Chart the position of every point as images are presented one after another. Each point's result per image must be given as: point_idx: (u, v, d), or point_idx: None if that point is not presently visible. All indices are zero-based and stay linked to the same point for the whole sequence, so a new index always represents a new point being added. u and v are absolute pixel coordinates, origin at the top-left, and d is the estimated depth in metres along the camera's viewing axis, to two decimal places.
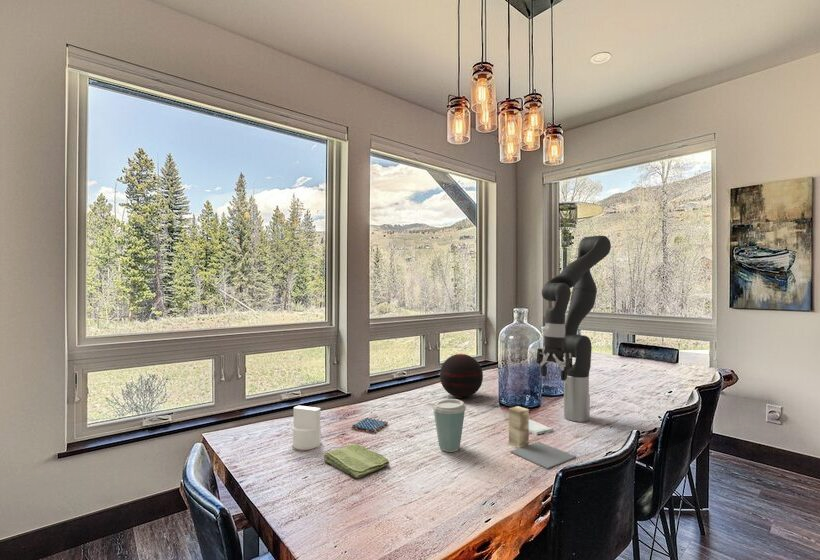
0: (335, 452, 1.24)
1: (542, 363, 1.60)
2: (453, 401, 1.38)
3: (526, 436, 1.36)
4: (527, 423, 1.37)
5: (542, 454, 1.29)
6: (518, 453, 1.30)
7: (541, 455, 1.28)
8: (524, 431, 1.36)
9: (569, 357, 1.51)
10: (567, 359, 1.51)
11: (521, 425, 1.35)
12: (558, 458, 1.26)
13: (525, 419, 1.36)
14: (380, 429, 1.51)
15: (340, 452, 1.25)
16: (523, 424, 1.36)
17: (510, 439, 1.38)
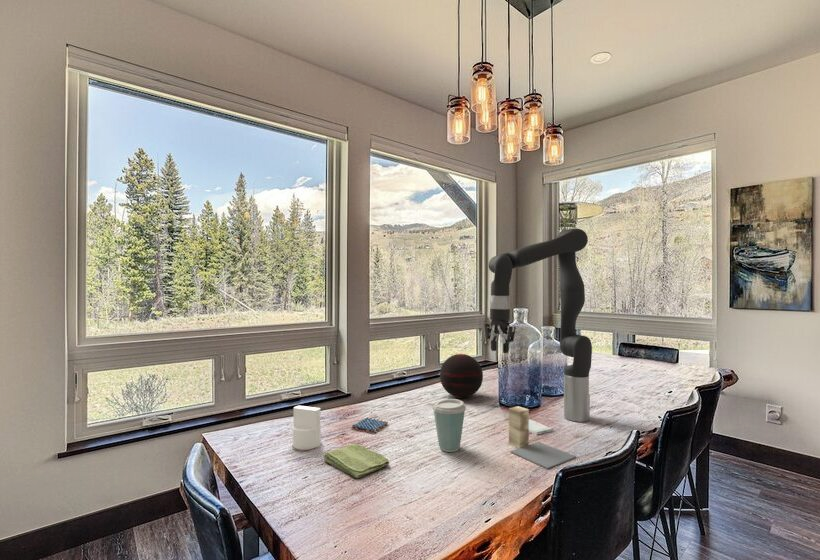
0: (335, 452, 1.25)
1: (491, 338, 1.60)
2: (453, 401, 1.38)
3: (526, 436, 1.36)
4: (527, 423, 1.37)
5: (542, 454, 1.29)
6: (518, 453, 1.30)
7: (541, 455, 1.28)
8: (524, 431, 1.36)
9: (512, 331, 1.52)
10: (509, 332, 1.52)
11: (521, 425, 1.35)
12: (558, 458, 1.26)
13: (525, 419, 1.36)
14: (380, 429, 1.51)
15: (340, 452, 1.25)
16: (523, 424, 1.36)
17: (510, 439, 1.38)
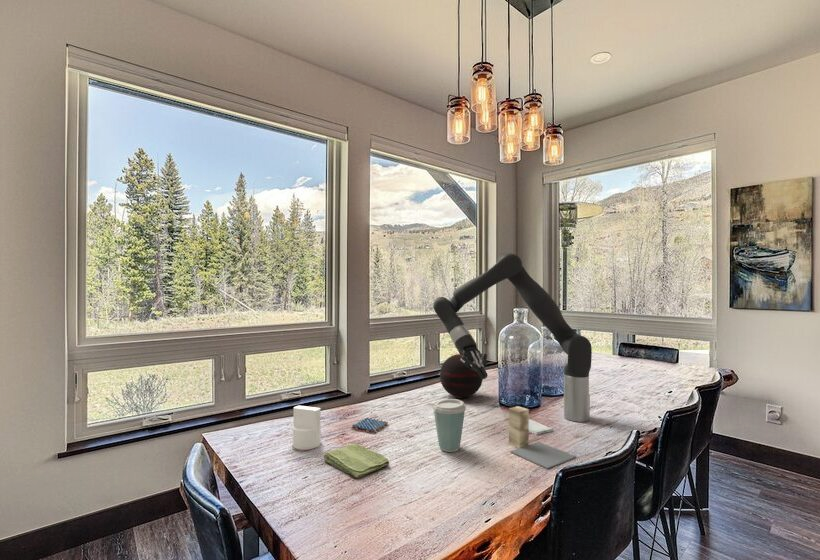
0: (335, 452, 1.25)
1: None
2: (453, 401, 1.38)
3: (526, 436, 1.36)
4: (527, 423, 1.37)
5: (542, 454, 1.29)
6: (518, 453, 1.30)
7: (541, 455, 1.28)
8: (524, 431, 1.36)
9: (463, 362, 1.52)
10: None
11: (521, 425, 1.35)
12: (558, 458, 1.26)
13: (525, 419, 1.36)
14: (380, 429, 1.51)
15: (340, 452, 1.25)
16: (523, 424, 1.36)
17: (510, 439, 1.38)
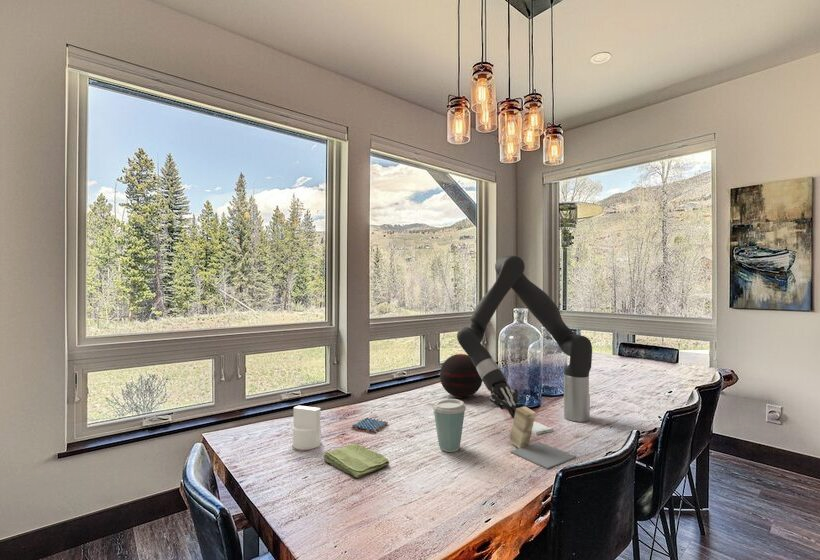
0: (335, 452, 1.25)
1: None
2: (453, 401, 1.38)
3: (528, 437, 1.36)
4: (531, 425, 1.35)
5: (542, 454, 1.29)
6: (518, 453, 1.30)
7: (541, 455, 1.28)
8: (526, 433, 1.35)
9: (493, 401, 1.40)
10: None
11: (526, 427, 1.34)
12: (558, 458, 1.26)
13: (530, 422, 1.34)
14: (380, 429, 1.51)
15: (340, 452, 1.25)
16: (527, 427, 1.34)
17: (511, 437, 1.37)
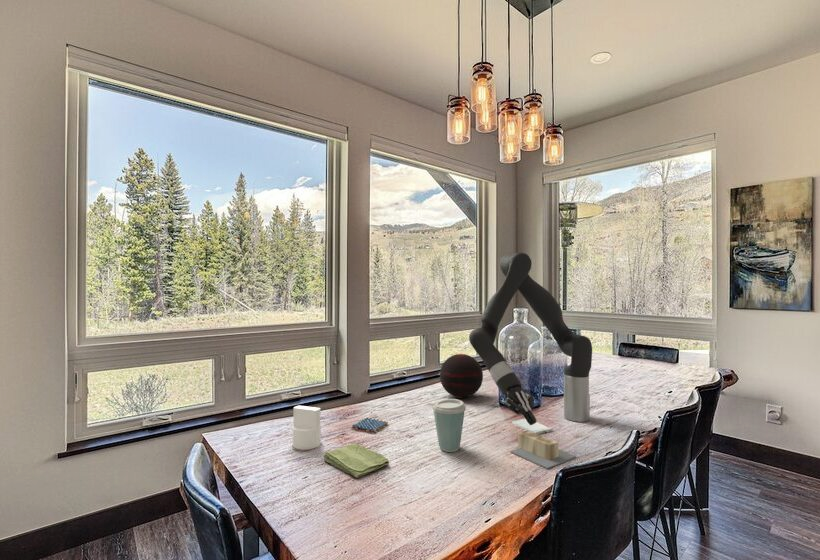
0: (335, 452, 1.25)
1: None
2: (453, 401, 1.38)
3: None
4: None
5: None
6: (518, 453, 1.30)
7: None
8: None
9: (508, 405, 1.34)
10: None
11: None
12: (558, 458, 1.26)
13: None
14: (380, 429, 1.51)
15: (340, 452, 1.25)
16: None
17: (522, 437, 1.33)
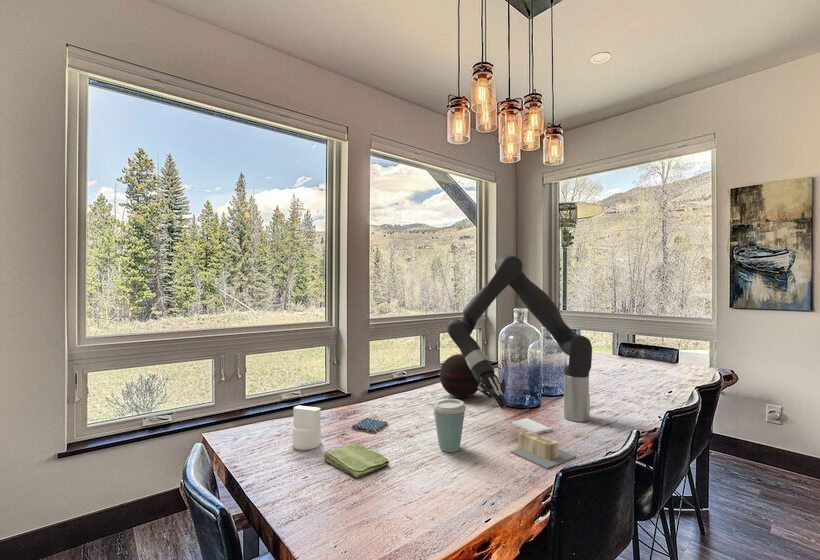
0: (335, 452, 1.25)
1: None
2: (453, 401, 1.38)
3: None
4: None
5: None
6: (518, 453, 1.30)
7: None
8: None
9: (481, 390, 1.44)
10: None
11: None
12: (558, 458, 1.26)
13: None
14: (380, 429, 1.51)
15: (340, 452, 1.25)
16: None
17: (522, 437, 1.33)
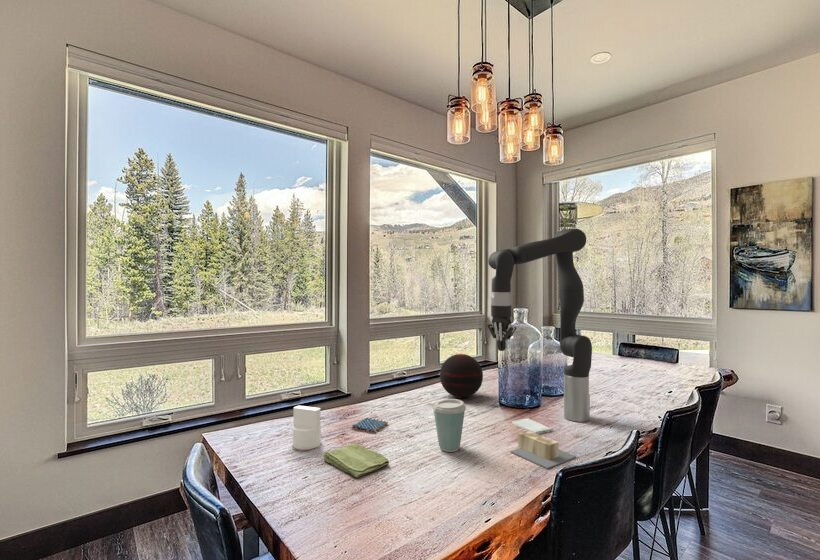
0: (335, 452, 1.25)
1: (497, 336, 1.55)
2: (453, 401, 1.38)
3: None
4: None
5: None
6: (518, 453, 1.30)
7: None
8: None
9: (511, 331, 1.50)
10: (508, 332, 1.50)
11: None
12: (558, 458, 1.26)
13: None
14: (380, 429, 1.51)
15: (340, 452, 1.25)
16: None
17: (522, 437, 1.33)
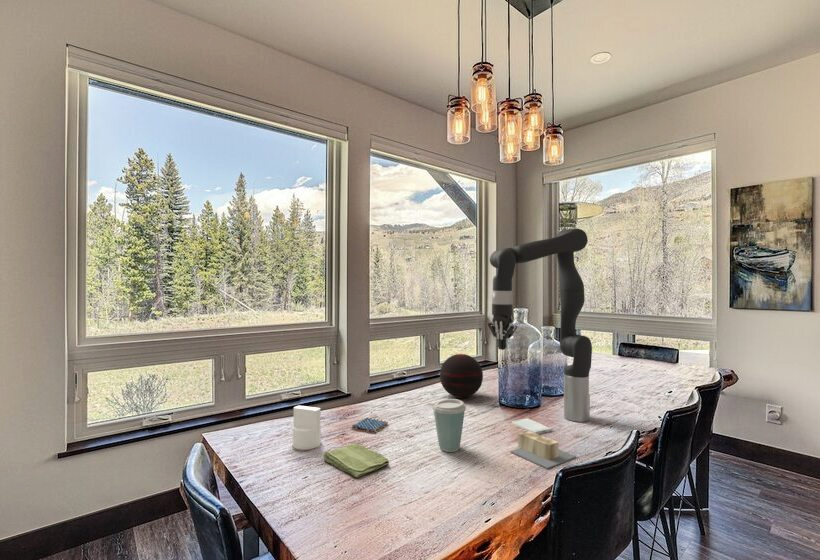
0: (335, 452, 1.25)
1: (498, 335, 1.54)
2: (453, 401, 1.38)
3: None
4: None
5: None
6: (518, 453, 1.30)
7: None
8: None
9: (512, 330, 1.50)
10: (509, 331, 1.50)
11: None
12: (558, 458, 1.26)
13: None
14: (380, 429, 1.51)
15: (340, 452, 1.25)
16: None
17: (522, 437, 1.33)
